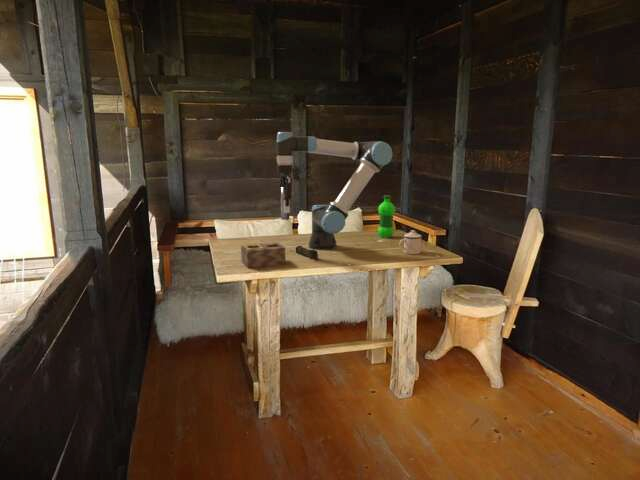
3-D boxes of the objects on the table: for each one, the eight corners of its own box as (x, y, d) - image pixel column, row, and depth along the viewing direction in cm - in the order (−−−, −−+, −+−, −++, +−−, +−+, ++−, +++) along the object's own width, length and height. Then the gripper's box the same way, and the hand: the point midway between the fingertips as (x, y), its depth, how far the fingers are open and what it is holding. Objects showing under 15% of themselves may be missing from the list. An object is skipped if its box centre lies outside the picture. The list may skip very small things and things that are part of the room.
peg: (287, 218, 241) (287, 186, 238) (290, 219, 237) (290, 187, 234) (280, 218, 240) (279, 186, 236) (282, 220, 236) (282, 187, 233)
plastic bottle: (374, 235, 292) (375, 194, 287) (390, 235, 295) (392, 194, 290) (380, 239, 283) (381, 196, 278) (397, 238, 285) (398, 196, 280)
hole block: (277, 258, 235) (277, 242, 233) (285, 264, 224) (285, 247, 222) (241, 261, 228) (240, 244, 226) (247, 268, 217) (247, 250, 215)
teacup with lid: (415, 250, 255) (416, 228, 253) (424, 253, 247) (425, 231, 244) (395, 251, 252) (396, 229, 249) (403, 255, 243) (404, 232, 241)
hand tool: (295, 253, 247) (295, 244, 246) (302, 252, 249) (302, 243, 248) (312, 261, 230) (312, 252, 229) (319, 260, 232) (319, 251, 231)
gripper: (272, 163, 239) (273, 210, 244) (282, 165, 224) (283, 214, 229) (286, 163, 242) (287, 209, 247) (298, 165, 227) (298, 214, 232)
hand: (285, 211), depth 238 cm, fingers closed on peg, 4 cm apart
